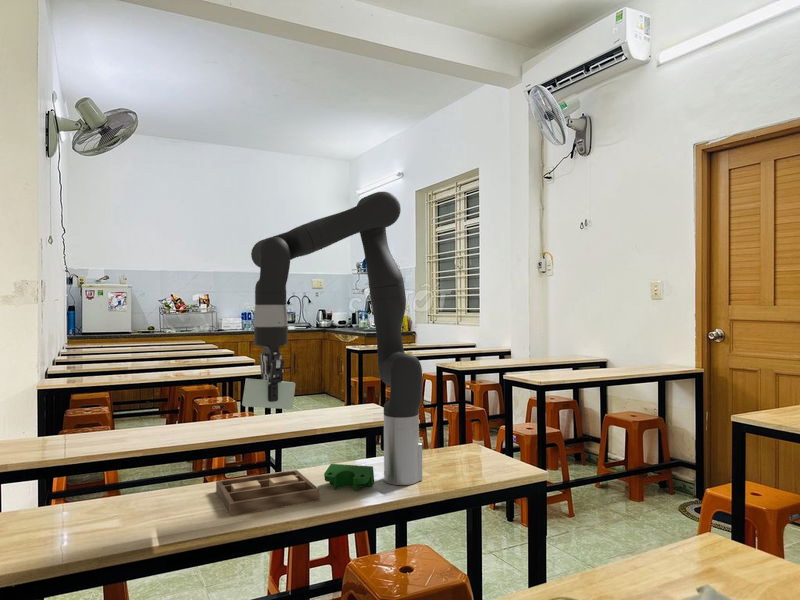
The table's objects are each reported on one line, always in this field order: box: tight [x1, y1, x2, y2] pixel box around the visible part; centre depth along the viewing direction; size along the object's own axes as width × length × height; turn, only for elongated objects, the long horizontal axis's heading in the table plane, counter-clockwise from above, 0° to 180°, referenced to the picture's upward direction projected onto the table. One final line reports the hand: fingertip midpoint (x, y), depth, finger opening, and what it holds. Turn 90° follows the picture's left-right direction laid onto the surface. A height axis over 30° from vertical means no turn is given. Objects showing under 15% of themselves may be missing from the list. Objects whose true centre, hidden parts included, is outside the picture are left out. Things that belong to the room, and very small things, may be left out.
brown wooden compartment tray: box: [215, 469, 320, 517], centre depth 132 cm, size 20×18×4 cm
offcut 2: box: [269, 475, 298, 486], centre depth 135 cm, size 6×4×3 cm, turn 117°
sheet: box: [241, 377, 296, 410], centre depth 127 cm, size 6×2×11 cm
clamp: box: [323, 463, 375, 492], centre depth 138 cm, size 12×6×9 cm, turn 71°
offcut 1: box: [231, 480, 261, 492], centre depth 131 cm, size 6×4×3 cm, turn 117°
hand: (271, 400), depth 128 cm, fingers closed on sheet, 2 cm apart
